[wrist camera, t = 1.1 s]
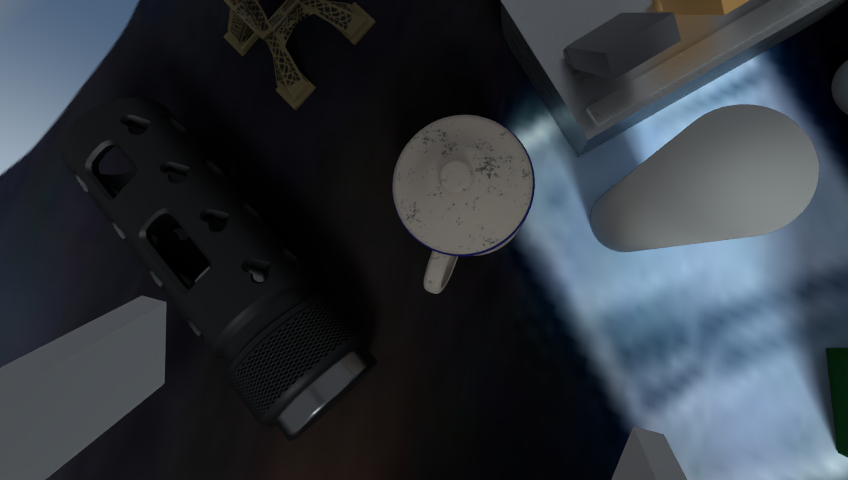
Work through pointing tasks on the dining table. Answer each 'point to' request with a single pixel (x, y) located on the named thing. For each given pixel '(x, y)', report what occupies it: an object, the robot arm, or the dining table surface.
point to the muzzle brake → (220, 265)
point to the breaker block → (650, 81)
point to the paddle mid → (697, 6)
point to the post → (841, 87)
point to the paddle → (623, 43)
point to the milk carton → (839, 394)
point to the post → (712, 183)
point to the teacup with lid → (462, 190)
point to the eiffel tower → (299, 4)
